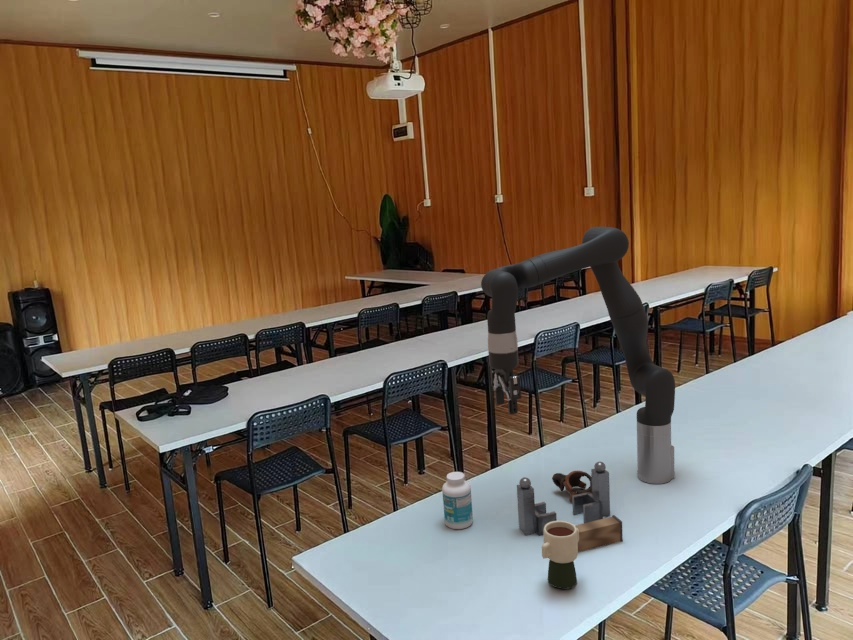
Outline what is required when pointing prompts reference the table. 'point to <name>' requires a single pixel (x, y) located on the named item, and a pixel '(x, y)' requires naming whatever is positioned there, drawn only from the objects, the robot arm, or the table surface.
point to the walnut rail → (599, 533)
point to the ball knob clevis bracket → (586, 503)
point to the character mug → (561, 553)
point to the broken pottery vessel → (572, 482)
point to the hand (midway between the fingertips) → (506, 408)
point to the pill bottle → (457, 501)
